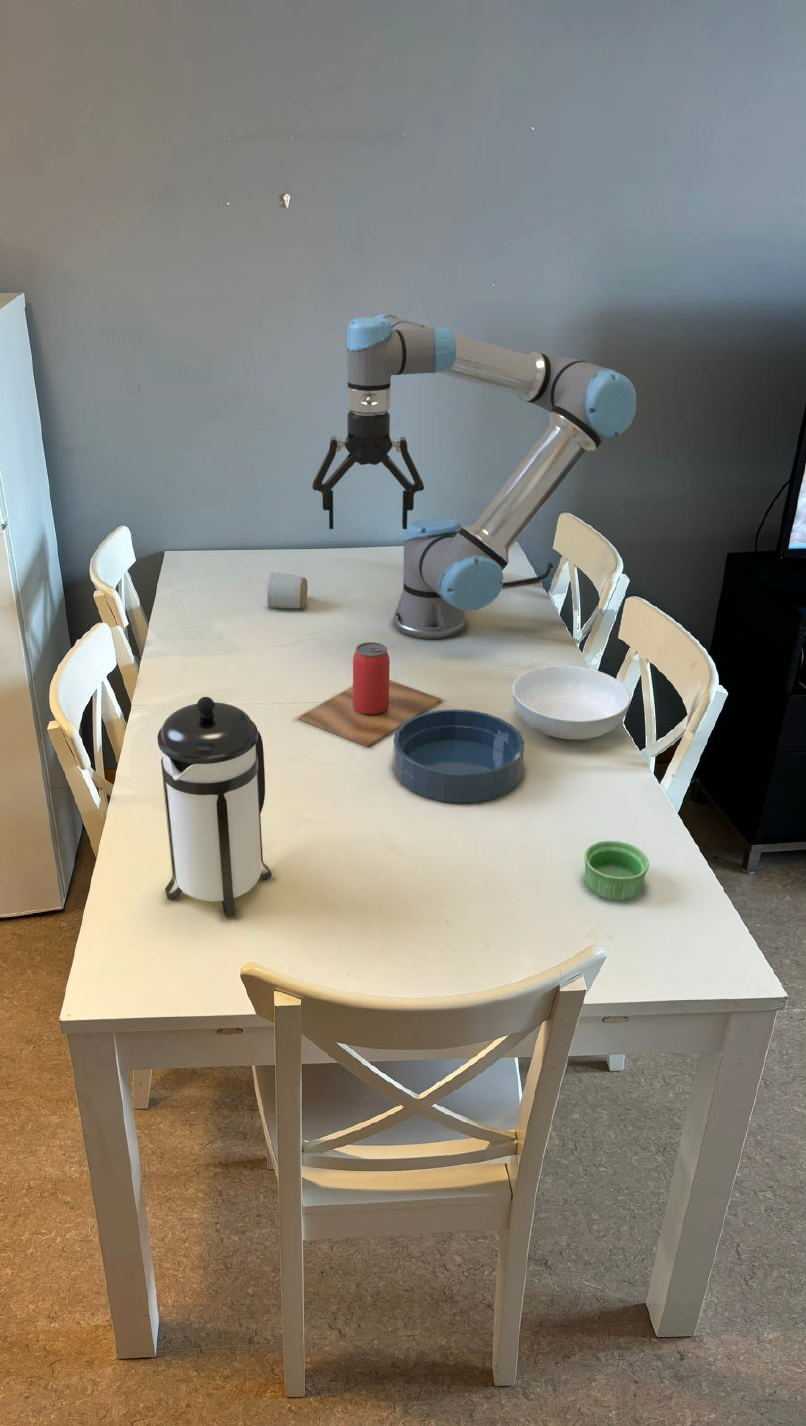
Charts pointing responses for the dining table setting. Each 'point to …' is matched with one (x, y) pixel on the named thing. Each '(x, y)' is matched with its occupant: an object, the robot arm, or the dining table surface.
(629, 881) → the ramekin
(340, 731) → the wooden cutting board
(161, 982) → the dining table surface
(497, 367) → the robot arm
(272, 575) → the grey cylinder
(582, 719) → the serving bowl
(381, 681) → the beer can
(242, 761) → the coffee press
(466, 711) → the blue bowl
